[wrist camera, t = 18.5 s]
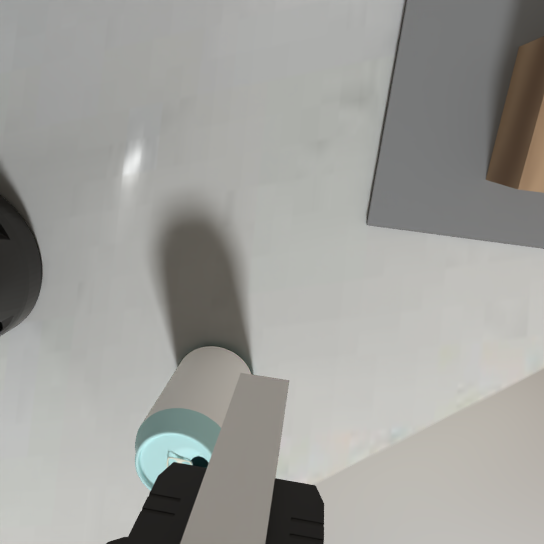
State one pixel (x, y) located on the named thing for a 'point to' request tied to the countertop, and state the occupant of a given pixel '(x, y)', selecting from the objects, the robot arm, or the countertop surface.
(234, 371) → the can
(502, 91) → the mat
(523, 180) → the walnut block
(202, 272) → the countertop surface
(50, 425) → the countertop surface
